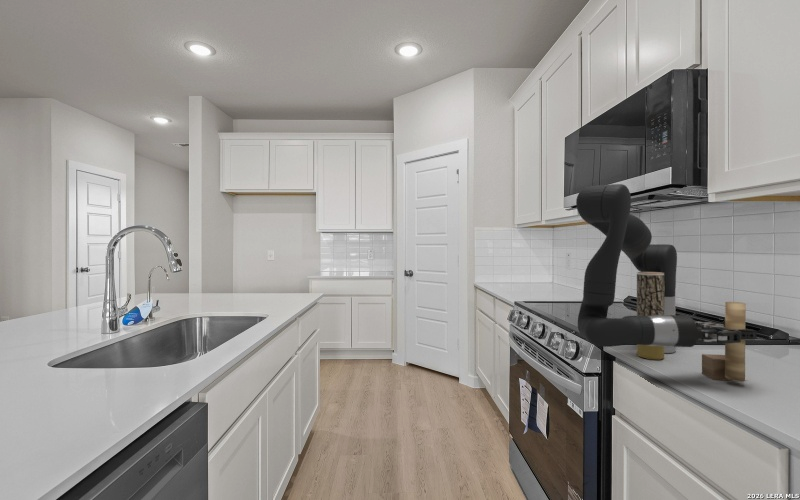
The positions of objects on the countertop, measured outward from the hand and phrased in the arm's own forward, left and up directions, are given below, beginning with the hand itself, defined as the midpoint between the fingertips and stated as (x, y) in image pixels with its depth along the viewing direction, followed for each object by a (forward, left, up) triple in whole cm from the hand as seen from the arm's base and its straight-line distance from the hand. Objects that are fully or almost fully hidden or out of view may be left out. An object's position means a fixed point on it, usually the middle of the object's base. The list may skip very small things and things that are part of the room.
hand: (748, 332), depth 90 cm
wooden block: (-5, -2, -12) cm, 13 cm away
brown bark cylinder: (-21, -12, -13) cm, 27 cm away
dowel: (0, -3, -11) cm, 11 cm away
